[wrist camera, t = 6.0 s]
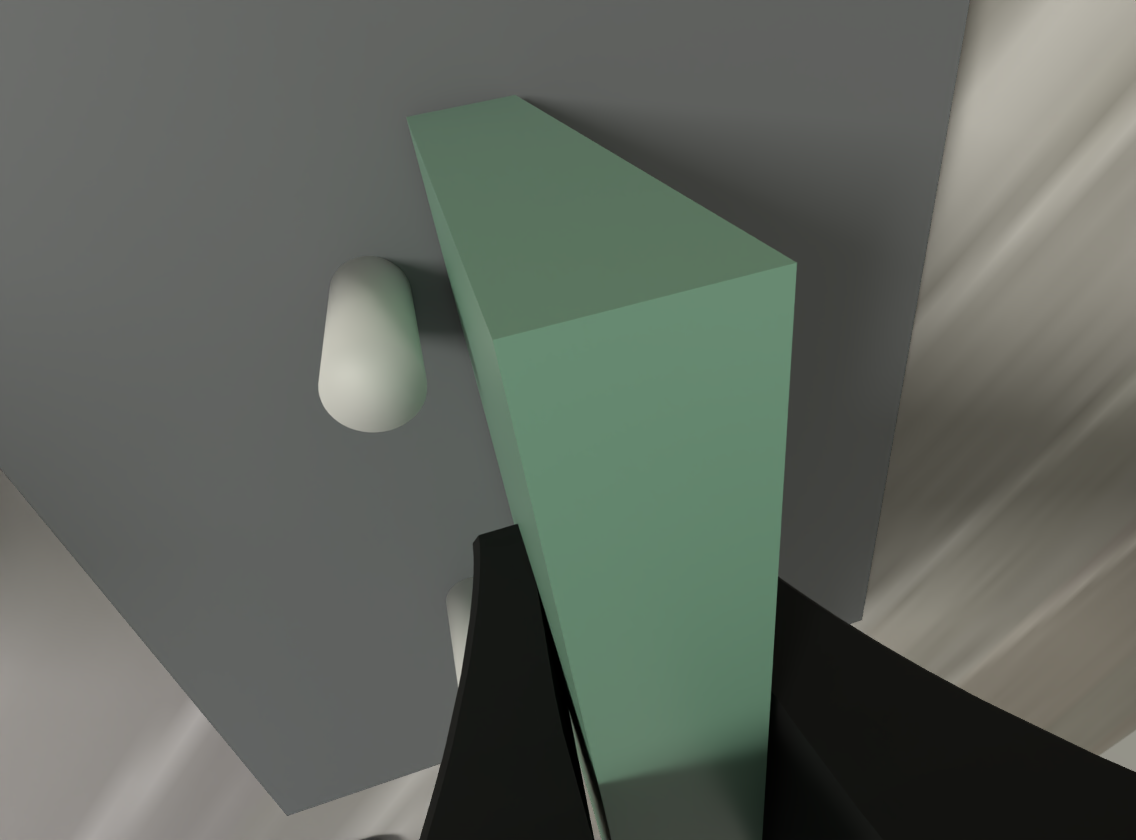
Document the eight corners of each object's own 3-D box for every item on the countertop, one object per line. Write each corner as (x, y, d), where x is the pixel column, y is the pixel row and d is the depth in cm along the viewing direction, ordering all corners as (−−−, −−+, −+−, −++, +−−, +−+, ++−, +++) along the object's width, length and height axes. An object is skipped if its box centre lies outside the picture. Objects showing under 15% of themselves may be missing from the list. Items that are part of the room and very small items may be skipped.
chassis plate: (840, 593, 19) (938, 714, 16) (290, 777, 17) (273, 960, 14) (961, -268, 9) (1304, -427, 6) (-370, -88, 7) (-1049, -178, 4)
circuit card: (609, 640, 16) (752, 1005, 10) (550, 659, 15) (660, 1044, 10) (514, 95, 9) (796, 263, 3) (405, 117, 9) (491, 341, 3)
